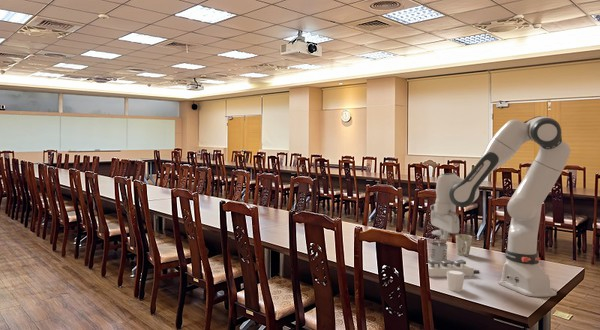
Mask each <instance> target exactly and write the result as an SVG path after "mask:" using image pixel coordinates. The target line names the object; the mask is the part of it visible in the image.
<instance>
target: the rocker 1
mask: <svg viewBox="0 0 600 330" xmlns="http://www.w3.org/2000/svg"><path fill="white" fill-rule="evenodd" d="M427 262H428V263H427V264H430V265H434V264H438V266H440V263H438V262H435V261H431V260H429V259H427Z"/></svg>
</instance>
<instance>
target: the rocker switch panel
mask: <svg viewBox="0 0 600 330" xmlns="http://www.w3.org/2000/svg"><path fill="white" fill-rule="evenodd" d="M427 264H428V267H429V276H430V277H431V278H432V277H447V271H448V270H457V271H461V272H464V273H465V275H464V277H473V276H474V274H479V273H480V270H479V269H478V270H477V269H474V268H475V267H473V266H471V265H469V264H467V263H466V264H460V266H455V265H454V264H453V265H451V264H447V266H443V265H441V264H440V266H438V264H434V265H430V264H429V263H427ZM430 277H429V278H430Z"/></svg>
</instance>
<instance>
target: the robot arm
mask: <svg viewBox="0 0 600 330" xmlns="http://www.w3.org/2000/svg"><path fill="white" fill-rule="evenodd" d="M530 141H531V142H534V143H536V144H537V145H538V146H539V149H538V152H537V155H536V156H535V158H534V159H533V162H532V163H531V164H530V166H529V169H528V170H527V172H526V174H525V176H524V177H523V179H522V180H521V182H520V183H519V185H518V186H517V187H516V189H515V190H514V193H513V194H512V195H511V197H510V199H509V201H508V202H507V205H506V209H507V213H508V215H509V216H510V217H511V220H510V224H509V228H508V237H507V248H506V250H505V262H504V264H503V266H502V271H501V272H502V273H501V279H500V280H499V281H498V284H499V285H500V286H503V287H505V288H508V289H510V290H513V291H515V292H517V293H519V294H522V295H525V296H529V297H535V298H536V297H538V298H541V297H542V298H543V297H547V298H548V297H554V296H557V291H555V290H554V289H553V288H551V280H550V277H549V275H548V274H547V273H546V272H545V271H544V269H543V267H542V266H541V265H540V260H541V257H539V256H538V252H537V248H538V235H539V234H538V233H539V228H540V222H541V213H542V207H543V206H542V205H543V204H544V202H545V200H546V198H547V196H548V195H549V194H550V192H551V191H552V189H553V188H554V186H555V185H556V183H557V181H558V179H559V178H560V175H561V174H562V173H563V170H564V169H565V168H566V164H567V163H568V159H569V158H570V154H571V146H570V145H569V144H568V143H566V142H565V141H563V139H562V127H561V125H560V123H559V122H558V121H557V120H555V119H554V118H552V117H549V116H544V115H539V116H534V117H533V118H530V119H528V120H525V121H524V122H523V121H522V120H519V119H510V120H508V121H506V123H504V124H503V125H502V126H501V127H500V128H499V129H498V130H497V131H496V133H495V134H494V135H493V137H492V138H491V139H490V140H489V142H488V144H487V145H486V147H485V149H484V151H483V153H482V154H481V155H480V156H481V157H480V158H479V160H478V162H477V163H476V164H475V165H474V167H473V168H472V169H471V170H470V171H469V173H468V174H467V175H466V176H465V178H462V177H460V176H458V175H457V174H456V173H455V172H450V173H442V174H440V175H438V176H437V179H436V186H435V194H436V195H435V196H436V198H435V203H433V204H432V205H430V206H429V207H430V208H429V209H430V223H431V225H432V226H434V227H436V228H438V229H439V230H440V234H441V236H440V240H444V241H447V240H448V236H449V234H460V218H459V216H458V214H457V211H456V210H457V209H456V208H457V207H459V208H466V207H469V206H470V205H472V203H474V202H475V201H476V200H478V198H479V196H480V189H479V187H480V186H481V184H482V183H483V182H484V181H485V179H486V178H487V177H488V176H489V175H490V174H491V173H492V172H493V171H494V170H496V169H498V168H499V167H502V166H503V165H505V164H506V163H507V162H508V161H510V160H511V159H512V158H513V156H515V154H516V153H517V152H518V151H519V149H520V148H521V147H522V146H523V145H524V144H525V143H527V142H530Z"/></svg>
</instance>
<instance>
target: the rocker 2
mask: <svg viewBox="0 0 600 330" xmlns="http://www.w3.org/2000/svg"><path fill="white" fill-rule="evenodd" d="M452 262H453V264H454V265H455V266H460V264H467V261H465V260H463V259H459V260H455V261H452Z"/></svg>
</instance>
